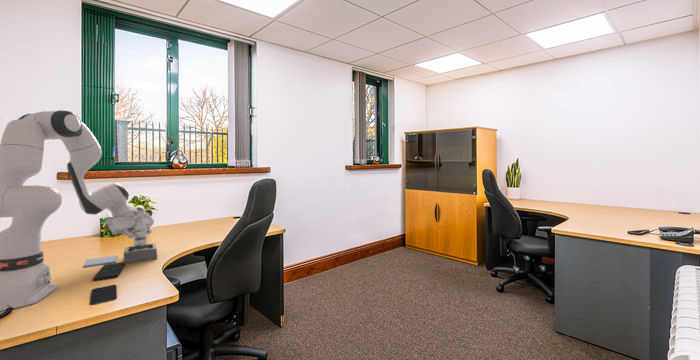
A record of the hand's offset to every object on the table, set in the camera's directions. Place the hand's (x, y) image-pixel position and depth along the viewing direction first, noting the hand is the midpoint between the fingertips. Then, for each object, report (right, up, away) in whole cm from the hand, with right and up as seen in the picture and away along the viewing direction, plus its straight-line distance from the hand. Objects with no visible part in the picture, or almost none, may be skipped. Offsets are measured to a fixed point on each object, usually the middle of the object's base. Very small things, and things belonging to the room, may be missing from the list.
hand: (141, 235), depth 153 cm
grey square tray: (0, -11, +1) cm, 11 cm away
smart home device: (0, -13, -19) cm, 23 cm away
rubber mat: (-16, -12, -5) cm, 20 cm away
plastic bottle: (0, -12, +1) cm, 12 cm away
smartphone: (+17, -14, -44) cm, 49 cm away
